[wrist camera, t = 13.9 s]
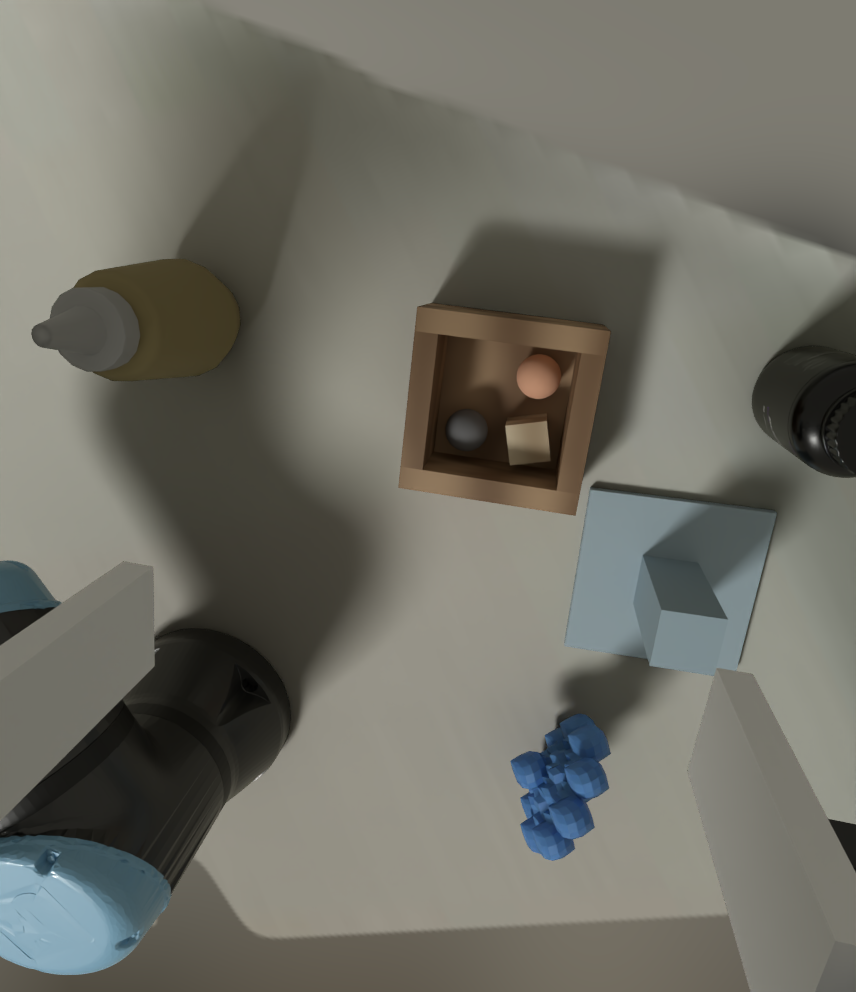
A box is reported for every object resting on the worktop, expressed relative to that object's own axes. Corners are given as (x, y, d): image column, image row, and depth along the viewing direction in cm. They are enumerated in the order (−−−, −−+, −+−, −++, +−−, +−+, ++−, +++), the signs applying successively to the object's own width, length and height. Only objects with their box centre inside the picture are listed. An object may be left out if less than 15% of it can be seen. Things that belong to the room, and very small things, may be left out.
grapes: (543, 659, 57) (543, 755, 45) (620, 693, 56) (639, 798, 45) (486, 765, 60) (473, 878, 49) (558, 797, 60) (561, 918, 49)
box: (414, 465, 53) (398, 487, 48) (431, 302, 49) (417, 306, 44) (572, 489, 52) (575, 515, 46) (603, 324, 48) (611, 331, 42)
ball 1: (445, 442, 52) (440, 452, 49) (450, 402, 51) (445, 410, 48) (486, 448, 51) (482, 458, 48) (492, 408, 50) (488, 416, 47)
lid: (564, 639, 56) (568, 713, 47) (589, 485, 52) (599, 532, 43) (732, 665, 54) (771, 747, 45) (772, 509, 50) (824, 563, 41)
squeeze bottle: (210, 235, 51) (41, 216, 34) (277, 330, 52) (147, 357, 35) (133, 301, 53) (-60, 314, 36) (199, 390, 54) (42, 443, 37)
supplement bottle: (731, 426, 49) (788, 472, 37) (777, 330, 46) (851, 349, 35) (827, 458, 48) (913, 514, 37) (878, 364, 46) (986, 393, 35)
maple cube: (511, 455, 51) (509, 465, 48) (507, 417, 50) (505, 425, 48) (550, 451, 50) (550, 461, 48) (546, 413, 50) (546, 421, 47)
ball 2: (514, 391, 50) (512, 399, 47) (520, 349, 49) (519, 354, 46) (556, 397, 49) (557, 405, 46) (564, 355, 48) (565, 360, 46)
